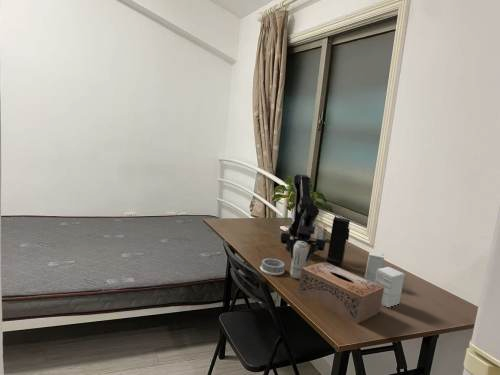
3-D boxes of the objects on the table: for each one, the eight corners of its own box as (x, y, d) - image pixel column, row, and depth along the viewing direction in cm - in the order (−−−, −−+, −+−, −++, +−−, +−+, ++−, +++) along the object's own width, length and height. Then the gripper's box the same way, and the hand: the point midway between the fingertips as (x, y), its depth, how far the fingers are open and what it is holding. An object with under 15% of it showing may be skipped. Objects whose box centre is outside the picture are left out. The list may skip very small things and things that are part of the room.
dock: (278, 265, 163) (279, 258, 162) (288, 274, 153) (289, 267, 153) (257, 265, 160) (257, 258, 159) (265, 275, 150) (266, 267, 149)
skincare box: (364, 281, 156) (369, 254, 154) (364, 277, 160) (368, 251, 158) (379, 284, 154) (384, 257, 152) (378, 280, 159) (383, 254, 156)
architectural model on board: (325, 242, 207) (328, 225, 205) (321, 242, 205) (324, 225, 203) (312, 235, 216) (314, 220, 214) (308, 236, 214) (311, 220, 213)
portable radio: (344, 265, 172) (353, 214, 167) (342, 269, 166) (351, 217, 162) (328, 261, 175) (336, 211, 171) (325, 265, 170) (333, 213, 165)
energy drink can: (286, 275, 152) (291, 241, 150) (295, 272, 157) (300, 239, 154) (298, 280, 148) (303, 246, 146) (306, 277, 153) (312, 243, 150)
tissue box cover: (379, 313, 129) (384, 287, 128) (357, 324, 120) (362, 296, 118) (321, 284, 148) (324, 261, 146) (298, 292, 138) (301, 267, 137)
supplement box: (383, 296, 143) (388, 266, 141) (399, 305, 137) (405, 273, 135) (370, 299, 139) (376, 268, 137) (387, 308, 133) (393, 276, 131)
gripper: (284, 213, 154) (276, 246, 145) (328, 221, 150) (323, 255, 141) (284, 227, 163) (277, 258, 154) (326, 234, 159) (321, 267, 150)
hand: (299, 259), depth 150 cm, fingers closed on energy drink can, 6 cm apart
